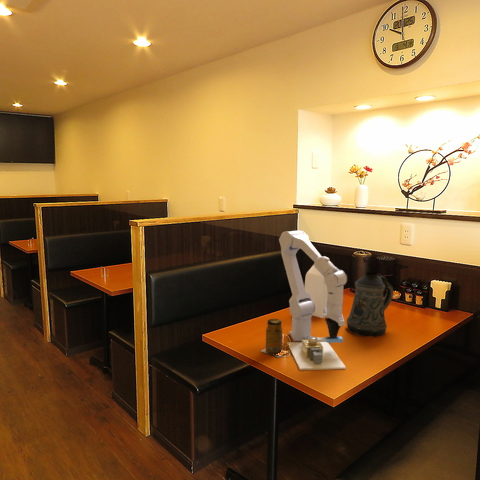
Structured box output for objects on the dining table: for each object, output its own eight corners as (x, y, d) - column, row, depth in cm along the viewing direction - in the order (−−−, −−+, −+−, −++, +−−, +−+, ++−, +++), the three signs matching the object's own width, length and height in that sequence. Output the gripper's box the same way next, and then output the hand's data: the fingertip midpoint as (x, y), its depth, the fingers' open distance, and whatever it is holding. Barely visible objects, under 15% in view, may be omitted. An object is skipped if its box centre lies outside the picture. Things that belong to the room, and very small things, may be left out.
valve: (298, 344, 159) (299, 333, 158) (314, 344, 159) (314, 332, 159) (309, 364, 142) (310, 351, 141) (326, 364, 143) (327, 351, 142)
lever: (309, 343, 148) (309, 339, 148) (307, 340, 151) (307, 336, 151) (343, 342, 149) (343, 339, 149) (340, 339, 152) (340, 335, 152)
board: (287, 343, 161) (287, 342, 161) (327, 343, 162) (327, 341, 162) (299, 370, 139) (299, 368, 139) (345, 368, 141) (345, 367, 141)
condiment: (272, 345, 159) (273, 316, 157) (290, 352, 153) (291, 321, 152) (260, 351, 154) (261, 320, 152) (278, 358, 148) (279, 326, 146)
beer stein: (339, 330, 176) (342, 273, 173) (360, 319, 190) (363, 266, 187) (375, 341, 165) (380, 280, 161) (395, 328, 179) (399, 272, 176)
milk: (302, 311, 200) (304, 259, 196) (316, 307, 208) (318, 256, 204) (322, 318, 191) (324, 263, 187) (336, 313, 199) (339, 260, 195)
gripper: (317, 297, 159) (316, 331, 161) (332, 309, 145) (330, 346, 147) (334, 297, 161) (333, 330, 163) (350, 308, 146) (348, 344, 148)
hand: (333, 337), depth 155 cm, fingers closed
